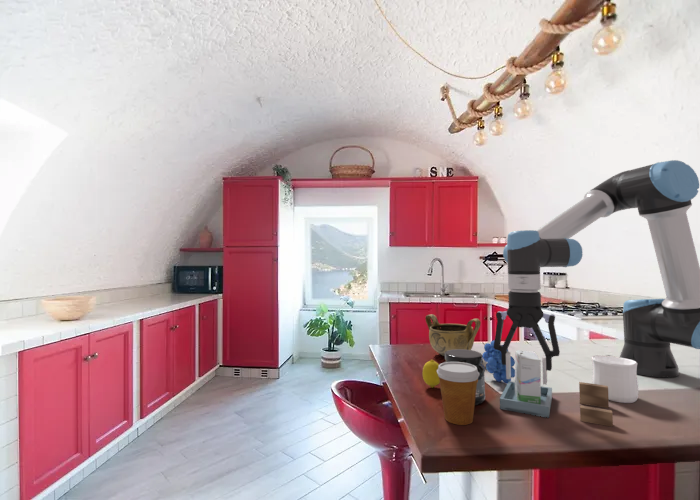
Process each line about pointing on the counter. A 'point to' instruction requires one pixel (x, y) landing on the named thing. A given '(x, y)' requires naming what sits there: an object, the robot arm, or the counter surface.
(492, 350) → the grapes
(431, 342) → the ceramic bowl
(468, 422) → the disposable coffee cup
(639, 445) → the counter surface
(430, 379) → the lemon
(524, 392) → the ink box
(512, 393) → the tray
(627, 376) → the cup
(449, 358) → the supplement container
